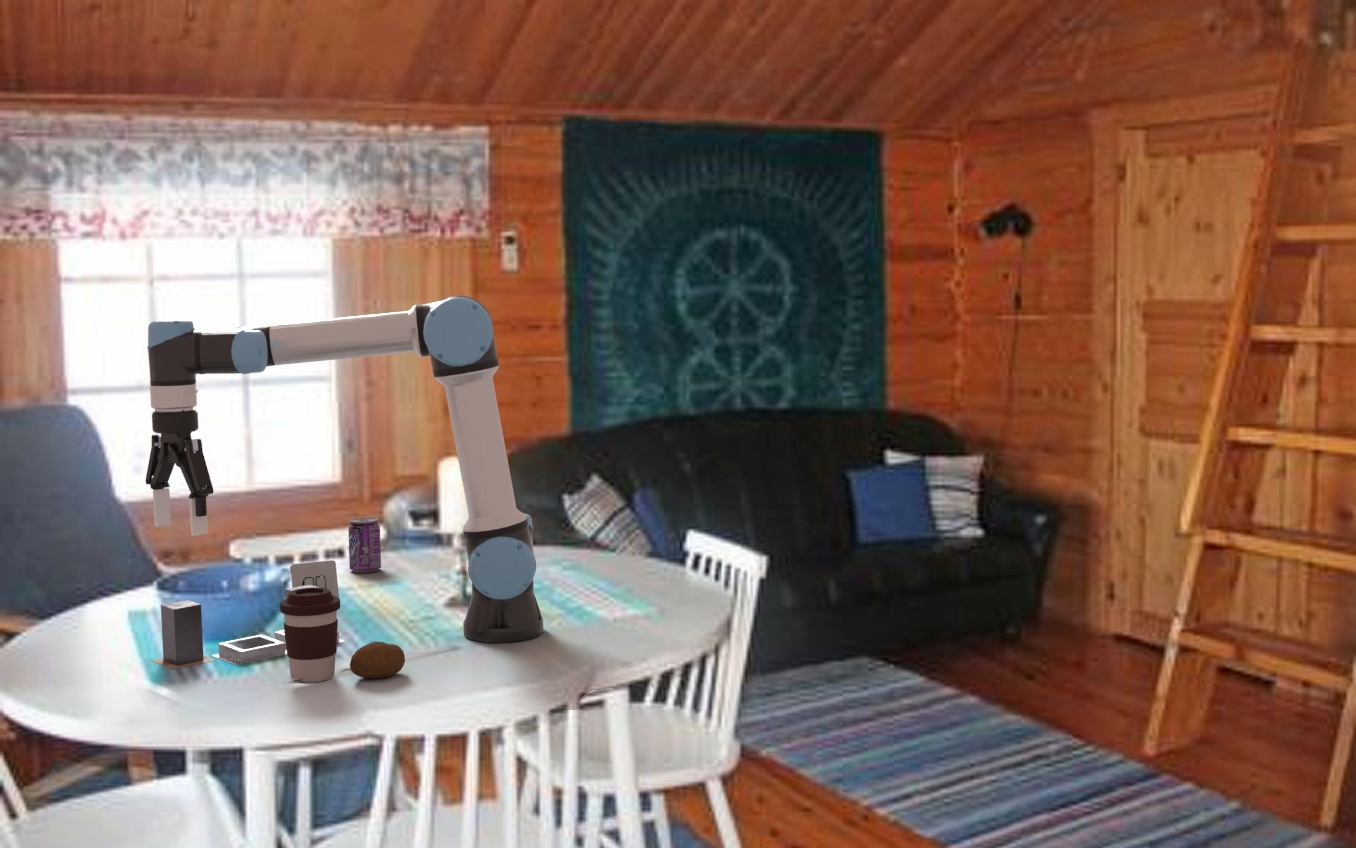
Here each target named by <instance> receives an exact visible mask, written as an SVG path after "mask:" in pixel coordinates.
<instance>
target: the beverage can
mask: <svg viewBox="0 0 1356 848" xmlns="http://www.w3.org/2000/svg"><path fill="white" fill-rule="evenodd" d="M347 531H348V555H349V556H348V558H349V559H348V561H349V569H350V570H351V571H352V572H354V573H357V574H370V573H374V572H377V571H378V570H379V569H381V568H382V555H381V554H382V553H381V550H382V549H381V526H380V524H379V522H378V518H376V517H365V516H364V517H355V518H352V519H350V524H349V526H348V530H347Z"/></svg>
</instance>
